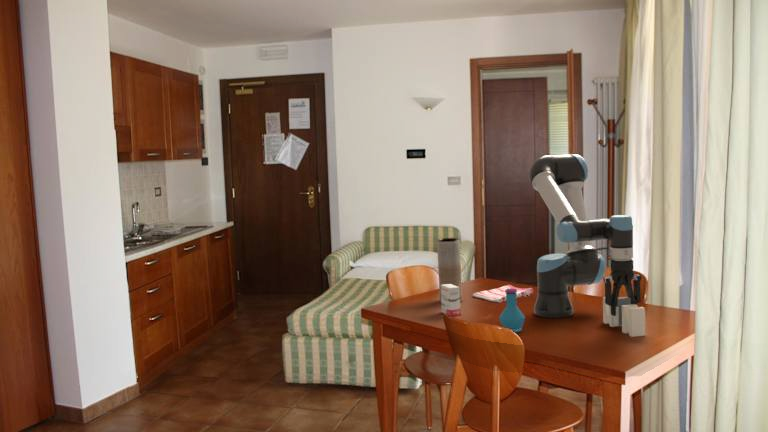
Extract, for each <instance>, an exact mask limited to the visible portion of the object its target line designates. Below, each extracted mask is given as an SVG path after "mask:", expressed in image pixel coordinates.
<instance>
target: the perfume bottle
mask: <svg viewBox="0 0 768 432" xmlns="http://www.w3.org/2000/svg"><path fill="white" fill-rule="evenodd" d="M505 292H506V299H507V301H506V307H505V308H504V310H503V311H502V312H501V314H500V316H499V318H498V319H499V321H500V324H501V326H502V327H503V328H504V327H506V328H509V329H512V330H513V331H514V332H513V333H515V332H516V333H517V332H521V331H522V328H523V327H524V323H525V319H526V316H525V315H524V313H523V312H522V311H521V310H520V309H519V307H518V306H517V298H516V294H517V293H516V292H517V290H516V289H512V288H511V289H506V290H505Z"/></svg>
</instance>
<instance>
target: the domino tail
mask: <svg viewBox="0 0 768 432" xmlns="http://www.w3.org/2000/svg"><path fill="white" fill-rule="evenodd" d="M628 335H629V337H630V338H633V337H643V336H646V308H645V307H643V306H638V307H635V308H629V333H628Z"/></svg>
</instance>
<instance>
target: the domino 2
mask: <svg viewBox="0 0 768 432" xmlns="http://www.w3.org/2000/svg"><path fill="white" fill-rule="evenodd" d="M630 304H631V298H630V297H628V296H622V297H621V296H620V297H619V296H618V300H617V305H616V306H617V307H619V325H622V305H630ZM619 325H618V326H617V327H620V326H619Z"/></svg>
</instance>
